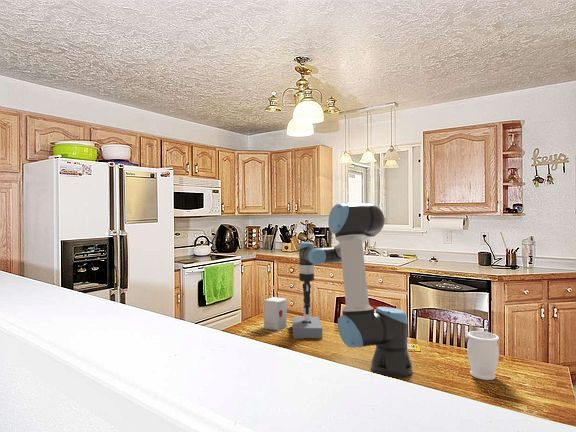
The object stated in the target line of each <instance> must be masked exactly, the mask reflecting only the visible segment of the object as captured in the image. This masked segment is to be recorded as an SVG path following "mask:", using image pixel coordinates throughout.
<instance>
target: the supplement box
mask: <svg viewBox="0 0 576 432" xmlns="http://www.w3.org/2000/svg"><path fill="white" fill-rule="evenodd" d="M287 301H288V299H287V298H285V297H277V296H272V297H269V298H266V299H263V307H264V308H263V309H264V310H263V329H267V330H273V331H280V330H283V329H284V328H286V326H287V323H288V322H287V319H288V318H287V317H288V316H287V312H288V311H287V310H288V309H287V307H288V306H287V305H288V304H287V303H288V302H287Z"/></svg>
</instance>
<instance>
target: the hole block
mask: <svg viewBox="0 0 576 432" xmlns="http://www.w3.org/2000/svg"><path fill="white" fill-rule="evenodd" d="M291 319H292V321H291V322H292V338H293V339H295V340H297V339H299V340H300V339H304V338H322V339H323V325H322V322H321V320H320V316H310V323H304V316H292V318H291Z"/></svg>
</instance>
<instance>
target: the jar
mask: <svg viewBox="0 0 576 432" xmlns="http://www.w3.org/2000/svg"><path fill="white" fill-rule="evenodd" d="M467 338H468V340H467V346H466V347H467V348H466V353H467V358H468V363H469V367H470V369H471V370H470V371H469V372H470V373H469V374H470V375H471V376H472V377H474V378H476V379H479V380H483V381H491V380H492V381H493V380H495V379H496V374H495V373H496V371H497V367H498V361H499V355H500V350H499V343H498V341H499V339H500V337H499V335H497V334H495V333H492V332H489V331H482V330H470V331H468V332H467Z"/></svg>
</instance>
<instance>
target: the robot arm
mask: <svg viewBox="0 0 576 432" xmlns="http://www.w3.org/2000/svg"><path fill="white" fill-rule="evenodd" d="M328 215H329V216H328V220H327V221H328V222H327V223H328V229H329V231H330V233H331V234H334V235H335V240H336V241H338V243H337V245H335V246H332V247H315V244H314V242H311V241H305V242H300V243H299V245H298V247H299V248H298V259H299V261H298V262H299V263H298V267H297V269H299V272H298V279H299V282H303V283H302V292H303V300H302V301H303V306H302V307H303V317H304V321H310V317H311V309H310V302H311V288H312V286H311V283H310V282H314V281H315V273H314V272H315V265H322V264H330V263H331V264H334V263H337V264H338V263H341V268H342V269H341V271H342V280H343V288H344V290H343V291H344V298H345V299H344V300H345V305H344V308H343V309H342V311H341V312H342V315H340V316H339V317H338V319H337V330H338V335H339V337H340V338H341V340H342V342H343V343H344V345H346V347H348V348H351V349H353V348H355V349H356V348H359V349H360V348H363V347H370V346H375V350H374V353H373V356H372V358H371V360H370V361H371V362H370V363H371V370H372V371H373V372H374V373H376V374H379V375H381V376H384V375H385V376H384V377H390V378H403V377H408V376H410V375H411V374H412V373H413V365H412V361H411V358H410V355H409V352H408V316H407V313H406V312H405V311H403V310H402V309H398V308H395V307H389V306H377V307H376V308H375V310H374V307H373V306H371V305H370V303H369V293H368V283H367V276H366V275H367V273H366V265H365V264H366V263H365V257H364V256H365V255H364V254H365V253H364V246H363V244H364V243H365V242H366V241H367V240H369V238H372V237H373V238H374V237H375V236H376V235H378V234H379V233H380V232H381V231H382V229H383V228H384V225H385V223H386V222H385V220H386V219H385V215H384V213H383V211H382V210H381V208H380V207H379V206H377V205H375V204H373V203H355V202H354V203H353V202H352V203H351V202H344V203H343V202H342V203H337V204H335V205H333V206H332V208H331V209H330V212H329V214H328ZM377 372H378V373H377Z"/></svg>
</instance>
